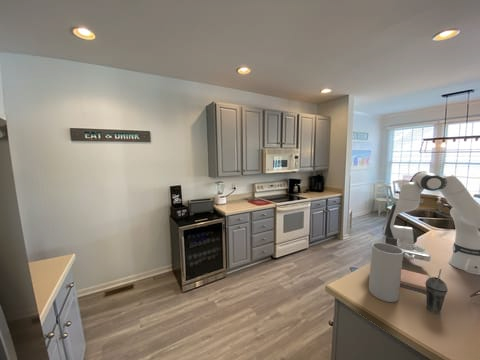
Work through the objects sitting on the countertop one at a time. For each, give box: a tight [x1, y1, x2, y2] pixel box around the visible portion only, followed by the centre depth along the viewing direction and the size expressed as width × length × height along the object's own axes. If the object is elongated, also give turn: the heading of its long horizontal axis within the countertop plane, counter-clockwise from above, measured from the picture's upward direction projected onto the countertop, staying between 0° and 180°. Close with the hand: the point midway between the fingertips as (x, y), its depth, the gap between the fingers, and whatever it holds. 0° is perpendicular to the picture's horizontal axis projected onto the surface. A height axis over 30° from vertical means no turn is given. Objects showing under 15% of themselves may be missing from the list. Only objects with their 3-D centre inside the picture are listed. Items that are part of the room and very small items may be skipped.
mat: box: [400, 284, 426, 295], centre depth 111 cm, size 18×16×1 cm
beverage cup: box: [425, 268, 448, 315], centre depth 90 cm, size 7×7×20 cm
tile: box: [400, 269, 430, 291], centre depth 112 cm, size 15×2×15 cm
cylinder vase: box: [368, 242, 404, 303], centre depth 100 cm, size 12×12×25 cm
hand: (410, 258), depth 123 cm, fingers closed
